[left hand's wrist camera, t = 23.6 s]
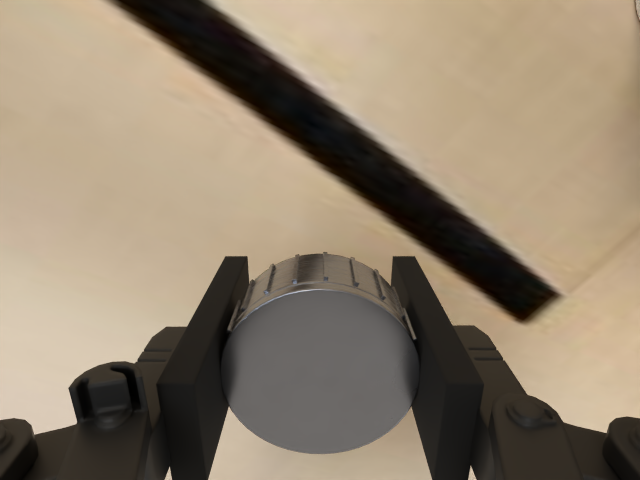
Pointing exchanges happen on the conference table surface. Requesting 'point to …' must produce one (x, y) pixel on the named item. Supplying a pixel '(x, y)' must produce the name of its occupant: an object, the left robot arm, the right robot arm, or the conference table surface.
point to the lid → (320, 355)
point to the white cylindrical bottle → (638, 8)
